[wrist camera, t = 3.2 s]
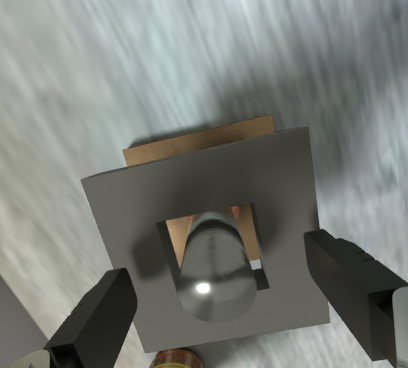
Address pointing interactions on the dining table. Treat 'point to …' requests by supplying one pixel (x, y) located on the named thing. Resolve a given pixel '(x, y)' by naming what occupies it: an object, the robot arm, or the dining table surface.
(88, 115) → the dining table surface
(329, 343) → the dining table surface
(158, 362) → the sauce bottle
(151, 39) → the dining table surface
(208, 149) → the collar
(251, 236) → the bronze plate with post
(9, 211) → the dining table surface
